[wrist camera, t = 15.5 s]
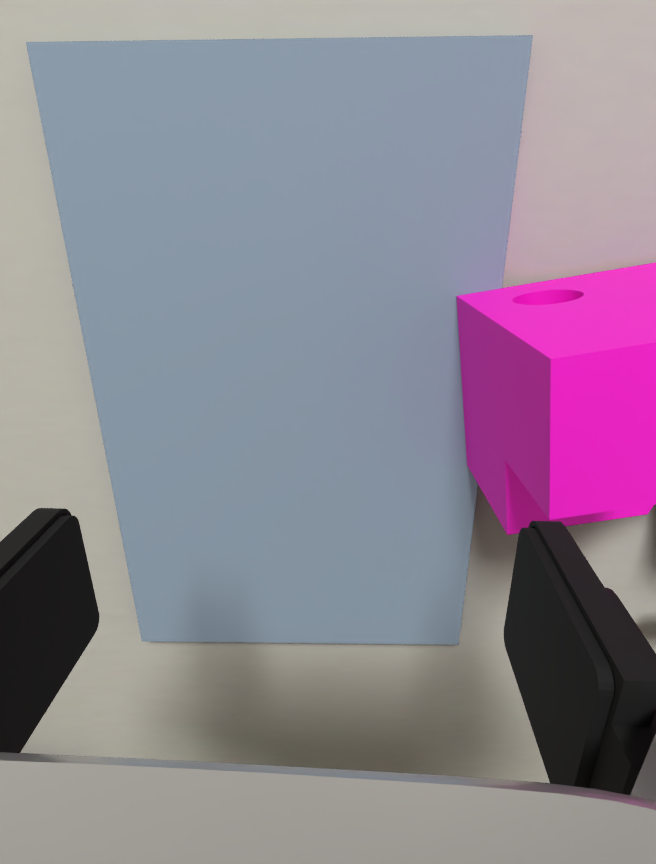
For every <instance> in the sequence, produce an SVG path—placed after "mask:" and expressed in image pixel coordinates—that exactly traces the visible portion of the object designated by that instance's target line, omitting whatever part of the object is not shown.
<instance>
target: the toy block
mask: <svg viewBox="0 0 656 864" xmlns="http://www.w3.org/2000/svg"><path fill="white" fill-rule="evenodd" d="M456 297H457V313H458V329H459V345H460V361H461V377H462V393H463V409H464V425H465V441H466V457H467V466H468V467H469V469H470V471H471V473H472V474H473V476H474V478H475V480H476V481H477V483H478V485H479V487H480V488H481V490H482V492H483V493H484V495H485V497H486V499H487V500H488V502H489V504H490V506H491V507H492V509H493V511H494V512H495V514H496V516H497V518H498V519H499V521H500V523H501V525H502V526H503V528H504V530H505V532H506V533H507V535H509V534H516V533H519V532H520V530H521V528H528V527H529V524H530V522H531V521H560V522H562V523H563V524H564V525H565V526H571V525H578V524H584V523H591V522H598V521H605V520H612V519H618V518H625V517H632V516H639V515H646V514H648V513H649V512H650V510H651V509H652V507H653V506H654V505H655V504H656V263H651V264H645V265H639V266H633V267H627V268H621V269H615V270H609V271H603V272H597V273H591V274H585V275H579V276H573V277H567V278H561V279H555V280H549V281H543V282H537V283H531V284H525V285H519V286H513V287H507V288H501V289H495V290H489V291H483V292H477V293H471V294H465V295H459V296H456Z"/></svg>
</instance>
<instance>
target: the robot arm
mask: <svg viewBox="0 0 656 864" xmlns="http://www.w3.org/2000/svg"><path fill="white" fill-rule="evenodd" d="M98 623H99V612H98V607H97V603H96V598H95V593H94V589H93V584H92V580H91V575H90V571H89V566H88V562H87V557H86V553H85V548H84V543H83V539H82V534H81V530H80V525H79V521H78V519H77V518H76V517H75V516H71V513H70V512H69V511H68V510H67V509H53V508H39V509H36V510H35V511H33V512H32V513H31V514H30V515H29V516H28V517H27V518H26V519H25V520H24V521H22V522H21V523H20V524H19V525H18V526H17V527H16V528H15V529H14V530H13V531H12V532H11V533H9V534H8V535H7V536H6V537H5V538H4V539H3V540H2V541H1V542H0V864H656V653H655V652H654V650H653V649H652V647H651V646H650V644H649V643H648V641H647V640H646V638H645V637H644V635H643V634H642V632H641V631H640V629H639V628H638V626H637V625H636V623H635V622H634V620H633V619H632V617H631V616H630V614H629V613H628V611H627V610H626V608H625V607H624V605H623V604H622V602H621V601H620V599H619V598H618V596H617V595H616V594H615V593H614V592H613V590H611V589H609V588H604V586H603V584H602V583H601V581H600V580H599V578H598V577H597V575H596V574H595V572H594V571H593V569H592V567H591V566H590V564H589V563H588V561H587V560H586V558H585V557H584V555H583V553H582V552H581V550H580V549H579V547H578V546H577V544H576V543H575V541H574V539H573V538H572V536H571V535H570V533H569V532H568V530H567V529H566V527H565V525H564V524H563V523H562V522H560V521H531V522H530V524H529V527H528V528H521V530H520V532H519V538H518V544H517V550H516V557H515V563H514V569H513V576H512V582H511V588H510V595H509V601H508V607H507V614H506V620H505V626H504V642H505V647H506V650H507V653H508V657H509V660H510V663H511V666H512V669H513V672H514V675H515V678H516V681H517V684H518V687H519V690H520V693H521V696H522V699H523V702H524V705H525V708H526V711H527V714H528V717H529V720H530V723H531V726H532V729H533V732H534V735H535V738H536V741H537V744H538V747H539V750H540V753H541V757H542V760H543V763H544V766H545V769H546V772H547V775H548V778H549V781H550V783H540V782H527V781H513V780H500V779H487V778H474V777H460V776H447V775H429V774H412V773H395V772H377V771H360V770H343V769H326V768H308V767H290V766H271V765H252V764H233V763H214V762H195V761H175V760H155V759H136V758H114V757H92V756H71V755H49V754H27V753H20V752H21V750H22V749H23V747H24V745H25V744H26V742H27V741H28V739H29V737H30V736H31V734H32V733H33V731H34V729H35V728H36V726H37V725H38V723H39V722H40V720H41V718H42V717H43V715H44V714H45V712H46V710H47V709H48V707H49V706H50V704H51V702H52V701H53V699H54V698H55V696H56V694H57V693H58V691H59V690H60V688H61V686H62V685H63V683H64V682H65V680H66V679H67V677H68V675H69V674H70V672H71V671H72V669H73V667H74V666H75V664H76V663H77V661H78V659H79V658H80V656H81V655H82V653H83V651H84V650H85V648H86V647H87V645H88V643H89V642H90V640H91V639H92V637H93V636H94V634H95V632H96V630H97V627H98Z"/></svg>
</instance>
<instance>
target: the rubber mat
mask: <svg viewBox="0 0 656 864" xmlns="http://www.w3.org/2000/svg"><path fill="white" fill-rule="evenodd" d="M532 38H533V35H518V36H444V37H370V38H296V39H222V40H147V41H73V42H26V45H27V50H28V55H29V60H30V65H31V71H32V76H33V81H34V86H35V91H36V96H37V102H38V107H39V112H40V117H41V122H42V127H43V133H44V138H45V143H46V148H47V153H48V158H49V164H50V169H51V174H52V179H53V184H54V189H55V195H56V200H57V205H58V210H59V215H60V220H61V226H62V231H63V236H64V241H65V246H66V251H67V256H68V262H69V267H70V272H71V277H72V282H73V287H74V293H75V298H76V303H77V308H78V313H79V318H80V324H81V329H82V334H83V339H84V344H85V349H86V355H87V360H88V365H89V370H90V375H91V380H92V386H93V391H94V396H95V401H96V406H97V411H98V417H99V422H100V427H101V432H102V437H103V442H104V448H105V453H106V458H107V463H108V468H109V473H110V479H111V484H112V489H113V494H114V499H115V504H116V510H117V515H118V520H119V525H120V530H121V535H122V541H123V546H124V551H125V556H126V561H127V566H128V572H129V577H130V582H131V587H132V592H133V597H134V603H135V608H136V613H137V618H138V623H139V628H140V634H141V639H142V641H151V642H245V643H340V644H435V645H459V637H460V628H461V620H462V612H463V604H464V596H465V587H466V579H467V571H468V563H469V554H470V546H471V538H472V530H473V522H474V513H475V505H476V497H477V489H478V483H477V481H476V480H475V478H474V476H473V474H472V473H471V471H470V469H469V467H468V466H467V457H466V441H465V425H464V409H463V393H462V377H461V361H460V345H459V329H458V313H457V297H456V296H459V295H465V294H471V293H477V292H483V291H489V290H495V289H501V288H502V284H503V276H504V267H505V259H506V251H507V243H508V234H509V226H510V218H511V210H512V202H513V193H514V185H515V177H516V169H517V161H518V152H519V144H520V136H521V128H522V120H523V111H524V103H525V95H526V87H527V79H528V70H529V62H530V54H531V46H532Z"/></svg>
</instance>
